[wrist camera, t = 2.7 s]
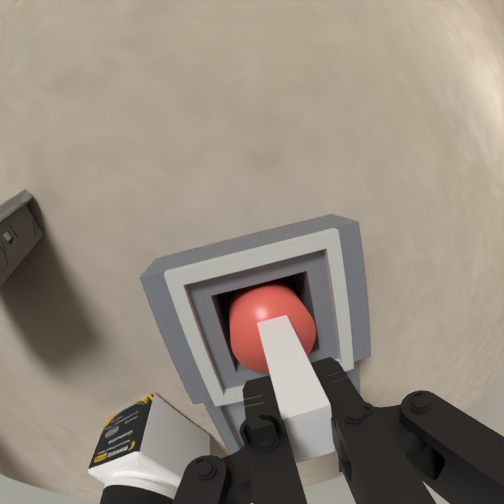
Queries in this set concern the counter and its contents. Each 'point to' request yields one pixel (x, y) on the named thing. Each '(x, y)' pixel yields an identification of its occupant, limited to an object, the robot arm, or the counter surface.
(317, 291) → the console
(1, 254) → the electrical switch
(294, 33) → the counter surface
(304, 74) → the counter surface
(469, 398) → the counter surface
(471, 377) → the counter surface
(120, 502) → the medicine bottle
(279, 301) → the button
